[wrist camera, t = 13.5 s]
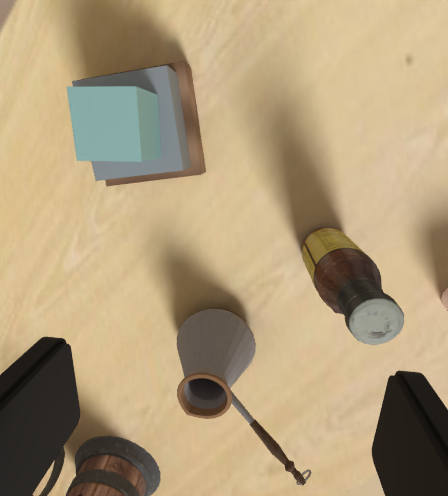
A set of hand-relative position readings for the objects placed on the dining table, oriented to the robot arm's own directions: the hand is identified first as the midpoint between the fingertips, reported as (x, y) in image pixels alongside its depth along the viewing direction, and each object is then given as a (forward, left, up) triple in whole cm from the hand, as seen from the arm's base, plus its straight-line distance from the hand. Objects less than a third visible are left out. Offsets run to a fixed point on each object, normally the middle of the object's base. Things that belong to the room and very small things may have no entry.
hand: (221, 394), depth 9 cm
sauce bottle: (+6, +10, -34) cm, 36 cm away
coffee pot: (+24, 0, -34) cm, 42 cm away
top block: (-8, -13, -31) cm, 34 cm away
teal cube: (-8, -13, -27) cm, 31 cm away
